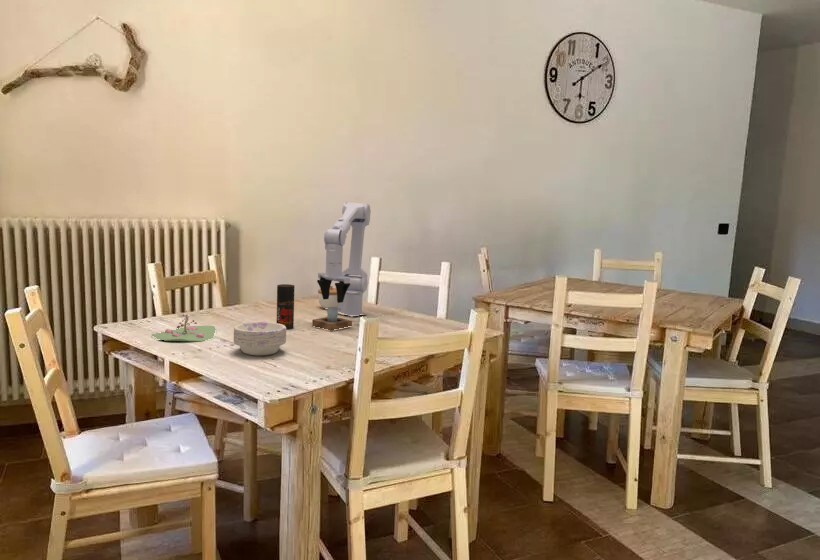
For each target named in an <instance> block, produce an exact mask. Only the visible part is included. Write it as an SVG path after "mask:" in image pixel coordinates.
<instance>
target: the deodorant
mask: <svg viewBox="0 0 820 560" xmlns="http://www.w3.org/2000/svg"><path fill="white" fill-rule="evenodd" d="M276 286H277V287H276V323H278V324H282V325H284V326H286V331H287V330H289V331H290V330H293V329H295V328H294V324H295V323H294V321H295V285H294V284H289V283H287V284H278V285H276Z"/></svg>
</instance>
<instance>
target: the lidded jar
mask: <svg viewBox="0 0 820 560" xmlns="http://www.w3.org/2000/svg"><path fill="white" fill-rule="evenodd" d="M317 292H318V295H317V296H318V303H319V304H320V306H321V307H322V308H328V307H337V308H338V302H337V290H336V287H335V288H334V287H333V285H330V291H329V299H323V296H322V292H321V289H320V288H319V289H318V290H317Z"/></svg>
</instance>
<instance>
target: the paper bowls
mask: <svg viewBox="0 0 820 560" xmlns="http://www.w3.org/2000/svg"><path fill="white" fill-rule="evenodd" d="M286 343H287V330H286V326H284V325H282V324H278V323H277V322H270V321H269V322H266V321H256V322H244V323H239V324H236V325H234V327H233V344H234V345H236V346H239V347H240V350H241V352H243V353H244V354H246V355H249V356H257V357H259V356H263V357H264V356H270V355H273V354H275V353H277V352H278V351H279V349H280V347H281V346H284V345H285V344H286Z"/></svg>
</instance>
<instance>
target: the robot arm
mask: <svg viewBox="0 0 820 560" xmlns="http://www.w3.org/2000/svg"><path fill="white" fill-rule="evenodd" d="M371 214H372V213H371V205H370V204H369V203H367V202H365V203H361V202H348V201H345V202H344V203H343V204H342V216H341V217H338V219H336V221H335V222H334V223H333V225H332V226H331V228H328V229H326V230H325V231H324V236H323V242H324V249H325V252H326V253H325V255H326V256H325V272H318V274H317V278H318V279H317V281H316V283H317V285H319V289H321V292H322V296H323V299H329V291H330V286H332V283H333V281H334V282H335V283H334V286H335V288H336V290H337V302H338V312H341V313H344V314H347V315H360V314H362V313H363V294H364V293H365V292H366V291H367V290H368V283H369V282H368V274H367V273H366V271H365V270H364V269H363V268H362V260H363V250H364V249H363V248H364V238H365V229H366V227H367V226H369V225H370V222H371ZM351 228H352V230H351V240H350V252H349V258H348V259H349V261H348V267H347V268H346V269H344V270H343V256H344V255H343V253H344V252H343V250H344V249H343V247H344V245H345V243H346V239H347V234H348V233H349V231H350V229H351Z"/></svg>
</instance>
